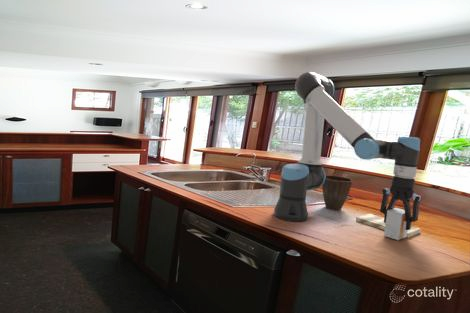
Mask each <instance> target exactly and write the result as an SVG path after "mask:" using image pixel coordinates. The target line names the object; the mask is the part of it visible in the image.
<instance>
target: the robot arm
mask: <svg viewBox="0 0 470 313" xmlns="http://www.w3.org/2000/svg"><path fill="white" fill-rule="evenodd" d="M294 85H295V86H294V89H295V92H296V94H297V96H299V98H300V99H301V100H303V106H304V107H305V108H306V110H305V119H304V130H303V131H304V132H303V143H302V153H301V158H300V159H299V160H298V161H297V163H289V164H285V165H284V166H282V168H281V173H280V187H279V197H278V200H277V202H276V206H274V209H273V215H274V217H276V218H278V219H281V220H284V221H288V222H305V221H307V220H309V212H308V208H307V203H306V201H307V200H306V199H307V198H306V197H307V192H308V191H315V190H317V189H319V188H322V185H323V184H324V182H325V179H326V175H327V174H326V171H325V170H324V163H323V161H322V160H321V155H322V146H323V138H324V137H323V136H324V125H325V124H324V123H325V121H326V122H327V123H328V124H330V126H332V128H334V130H335V131H336V132H337V133H338V134H339V135H340V136H341V137H342V138H343V139H344V140H345V141H346V142H347V143H348V144H349V145H350V146H351V147H352V148H353V149H354V150H353V151H354V153H355V155H356V157H358V158H360V159H361V160H367V161H368V160H369V161H370V160H373V159H374V160H375V159H384V160H385V159H386V160H393V161H394V163H393V164H394V165H393V173H392V174H393V176H392V177H391V186H390V187H389V188H387V187H386V188H383V189H382V200H381V203H380V204H381V205H380V209H379V211H380V213H382V214H383V215H384V217H383V218H384V223H386V217H387V210H391V209H394V208H395V206H396V203H397V201H400V202H402V204H403V208H404V209H403V210H405V215H406V221H404V224H403V231H402V237H401V238H402V239H405V238H407V231H408V230H410V229H411V226H412V223H415V222H417V221H418V220H419V213H420V212H419V210H420V201H421V200H422V197H423V196H422V195H418V194H416V193H415V190H414V189H415V188H414V187H415V183H416V179H415V178H416V176H417V169H418V163H419V155H420V151H421V149H420V148H421V147H420V146H421V139H420V138H419V137H417V136H416V137H415V136H414V137H413V136H402V135H401V136H398V137H397V140H387V139H381V138H380V139H379V138H374V137H373V136H372V135H371V134H370V133H369V132H368V131H367V130H366V129H364V128H363V127H362V125H361V124H360V123H358V121H356V120H355V119H354V118H353V117H352V116H351V115H350V114H349V113H348V112H347V111H346V110H345V109H344V108H343V107H342V106H341V105H340V104H338V102H337V101H335V100H334V98H333V97H334V94H335V84H334V83H333V81H332V80H331V79H329V78H328V77H326V76H324V75H320V74H319V73H318V74H317V73H316V72H313V71H306V72H303V73H302V74H300V75H299V76H298V77H297V78H296V80H295V83H294ZM390 194H391V195H392V197H391V198H390V202H389V203H388V201H389V197H390ZM411 198H412V200H413V203H412V209H411V200H410V199H411Z"/></svg>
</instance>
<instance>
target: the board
mask: <svg viewBox="0 0 470 313" xmlns="http://www.w3.org/2000/svg"><path fill="white" fill-rule="evenodd" d="M355 221H356V222H359V223H361V224H365V225H368V226H370V227H374V228H377V229H379V230H383V231H385V224H386V223H384V217H383V216H379V215H376V214H373V213H366V214H362V215H358V216H356V217H355ZM420 232H421V228H420V227H417V226H414V225H411V229H410V230H408V231H407V237H406V238H407V239H409V238H411V237H413V236H415V235H418V234H420Z"/></svg>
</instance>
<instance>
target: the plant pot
mask: <svg viewBox="0 0 470 313" xmlns="http://www.w3.org/2000/svg"><path fill="white" fill-rule="evenodd" d="M325 175H326V179H325V182H324V184H323V185H322V186H321V189H322V195H323V201H324V205H325V208H326V209H328V210H331V211H341V210H342V208H343V206H344V204H345V203H346V200H347V198H348V196H349V193H350V191H351V188H352V184H353V182H354V181H353V179H351V178H348V177H344V176H338V175H327V174H325Z"/></svg>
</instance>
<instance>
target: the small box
mask: <svg viewBox="0 0 470 313" xmlns="http://www.w3.org/2000/svg"><path fill="white" fill-rule="evenodd" d="M404 221H406V215H405V209H402V208H398V207H393V209H391V210H387V217H386V224H385V230H383V231H384V233H383V237H387V238H390V239H392V240H396V241H400V240H402V239H403V238H401V237H402V231H403V224H404Z"/></svg>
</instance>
